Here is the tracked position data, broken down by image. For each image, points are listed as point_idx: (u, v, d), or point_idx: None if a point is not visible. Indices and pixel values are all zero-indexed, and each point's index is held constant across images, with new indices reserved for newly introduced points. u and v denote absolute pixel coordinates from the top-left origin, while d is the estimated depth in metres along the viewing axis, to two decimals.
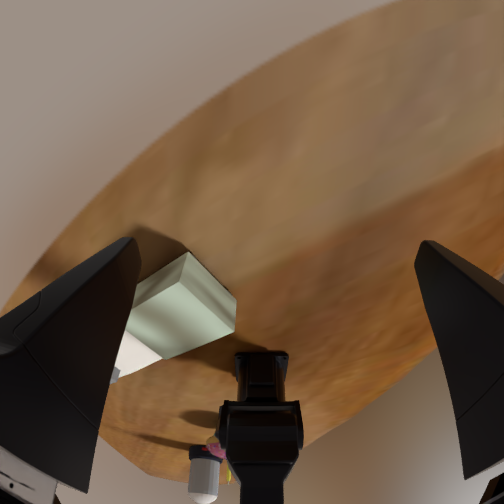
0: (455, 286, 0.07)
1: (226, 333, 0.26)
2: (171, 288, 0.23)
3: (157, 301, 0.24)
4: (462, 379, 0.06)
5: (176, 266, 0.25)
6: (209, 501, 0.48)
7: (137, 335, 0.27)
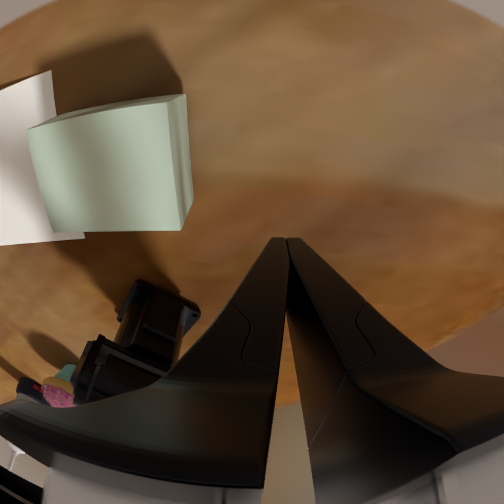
0: (296, 291, 0.07)
1: (168, 227, 0.16)
2: (145, 108, 0.13)
3: (108, 121, 0.13)
4: (307, 402, 0.06)
5: (161, 98, 0.15)
6: None
7: (40, 171, 0.14)
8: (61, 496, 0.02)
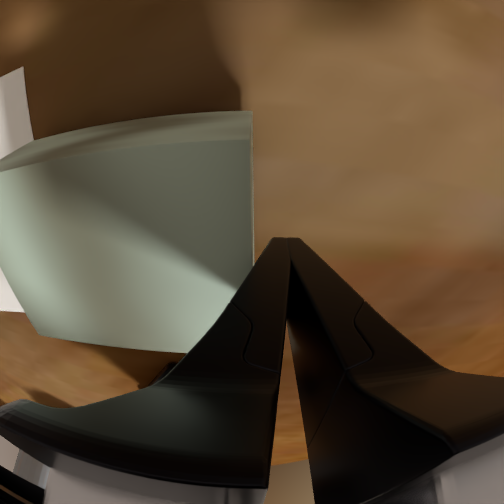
0: (295, 291, 0.07)
1: None
2: (197, 150, 0.06)
3: (110, 174, 0.06)
4: (305, 402, 0.06)
5: (212, 119, 0.08)
6: None
7: (1, 252, 0.08)
8: (63, 497, 0.02)
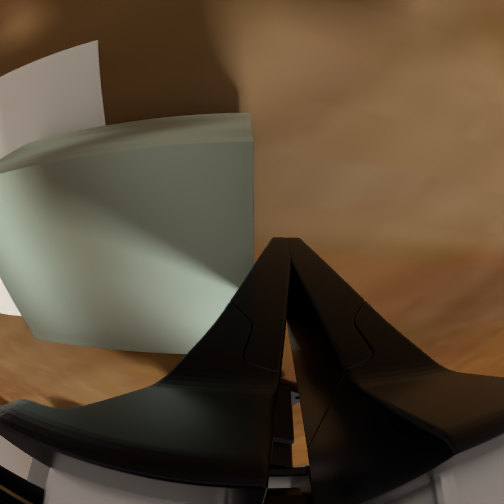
0: (295, 291, 0.07)
1: None
2: (200, 152, 0.06)
3: (112, 176, 0.06)
4: (305, 402, 0.06)
5: (212, 120, 0.08)
6: None
7: None
8: (63, 497, 0.02)
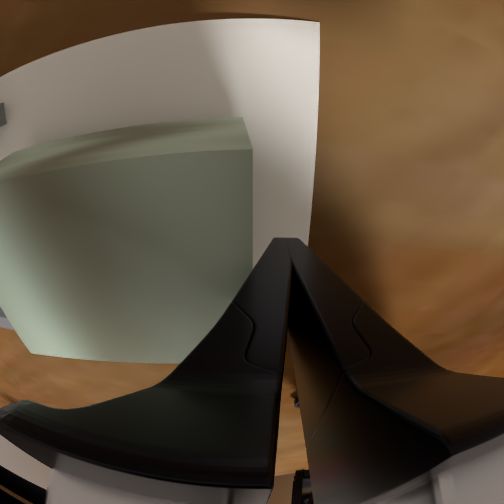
0: (294, 291, 0.07)
1: None
2: (199, 161, 0.06)
3: (106, 186, 0.06)
4: (304, 402, 0.06)
5: (205, 126, 0.08)
6: None
7: None
8: (65, 497, 0.02)
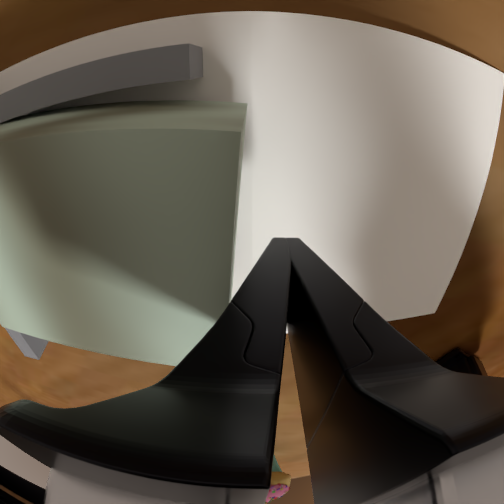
0: (294, 291, 0.07)
1: None
2: (178, 140, 0.05)
3: (78, 159, 0.05)
4: (305, 402, 0.06)
5: (202, 107, 0.07)
6: None
7: None
8: (64, 497, 0.02)
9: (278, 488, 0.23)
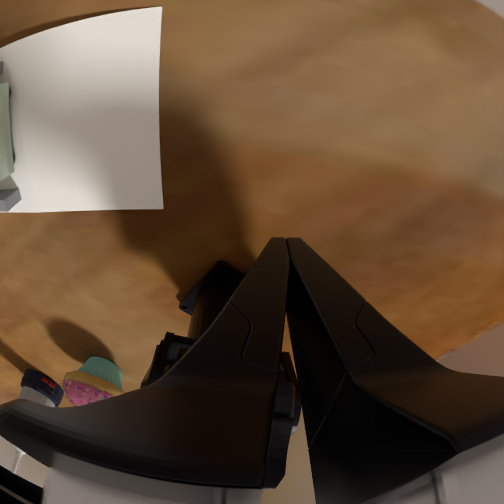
0: (296, 291, 0.07)
1: None
2: None
3: None
4: (307, 402, 0.06)
5: None
6: None
7: None
8: (61, 496, 0.02)
9: (105, 396, 0.28)
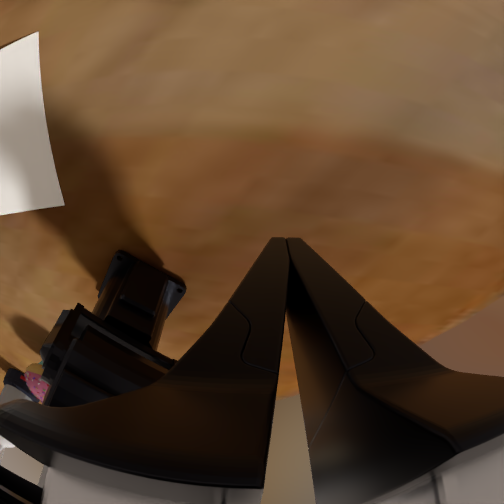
0: (296, 291, 0.07)
1: None
2: None
3: None
4: (307, 402, 0.06)
5: None
6: (9, 445, 0.29)
7: None
8: (61, 496, 0.02)
9: None
